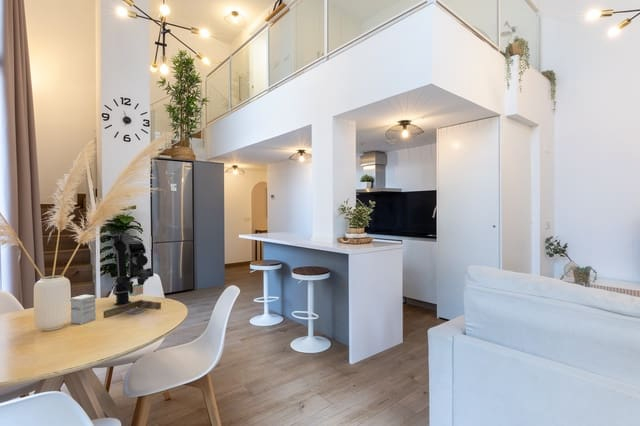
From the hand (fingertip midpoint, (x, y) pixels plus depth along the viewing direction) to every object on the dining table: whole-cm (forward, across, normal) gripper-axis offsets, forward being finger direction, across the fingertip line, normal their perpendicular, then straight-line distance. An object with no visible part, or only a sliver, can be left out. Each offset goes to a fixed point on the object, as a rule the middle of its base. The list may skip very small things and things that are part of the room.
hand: (135, 292), depth 170 cm
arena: (+10, -2, -1) cm, 11 cm away
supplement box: (+11, -20, +11) cm, 25 cm away
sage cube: (+1, 0, 0) cm, 1 cm away
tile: (+10, 0, 0) cm, 11 cm away
